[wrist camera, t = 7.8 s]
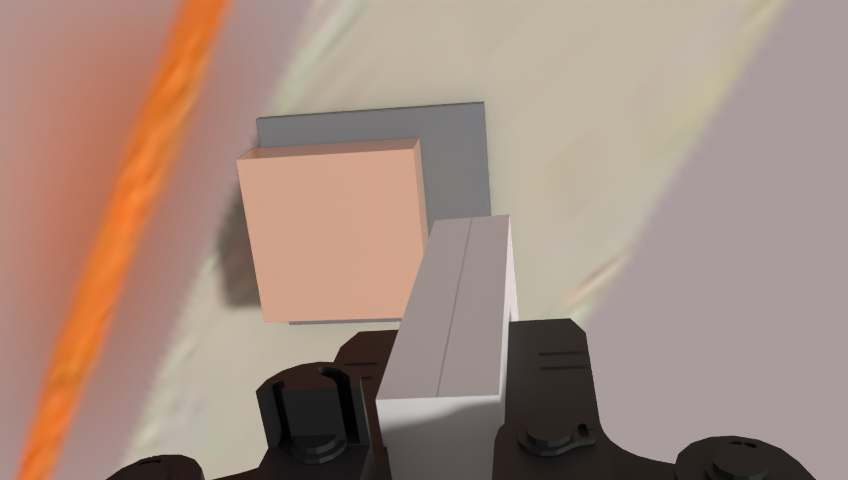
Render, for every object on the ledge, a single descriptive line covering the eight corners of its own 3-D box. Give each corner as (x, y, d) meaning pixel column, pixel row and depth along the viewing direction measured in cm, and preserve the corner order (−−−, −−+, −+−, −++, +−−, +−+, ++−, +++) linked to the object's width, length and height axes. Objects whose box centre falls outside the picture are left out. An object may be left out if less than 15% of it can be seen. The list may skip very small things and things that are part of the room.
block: (413, 148, 37) (235, 159, 38) (429, 316, 40) (264, 322, 41) (419, 137, 39) (253, 147, 40) (434, 295, 42) (278, 301, 43)
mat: (484, 101, 39) (483, 103, 38) (497, 313, 43) (496, 318, 42) (259, 117, 40) (255, 119, 40) (292, 320, 44) (289, 324, 44)
